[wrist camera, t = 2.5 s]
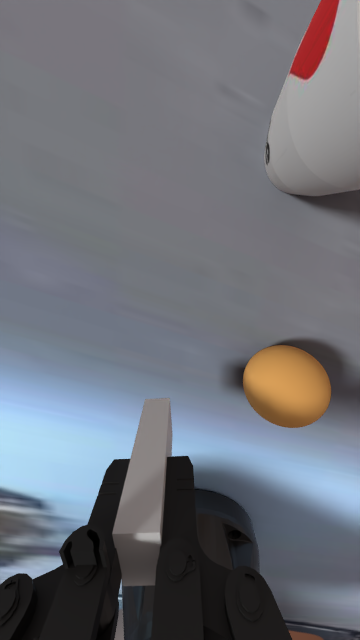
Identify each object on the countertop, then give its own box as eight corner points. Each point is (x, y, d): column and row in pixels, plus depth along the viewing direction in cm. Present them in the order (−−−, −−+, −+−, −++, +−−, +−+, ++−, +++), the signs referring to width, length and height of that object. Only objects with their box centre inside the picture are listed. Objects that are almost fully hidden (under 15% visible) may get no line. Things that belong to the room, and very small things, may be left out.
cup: (310, 46, 13) (659, -518, 4) (383, 149, 15) (765, -55, 5) (218, 158, 15) (291, -25, 5) (293, 241, 16) (455, 216, 7)
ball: (297, 392, 20) (345, 446, 14) (234, 395, 20) (256, 450, 14) (304, 332, 18) (362, 366, 13) (235, 336, 18) (261, 370, 13)
